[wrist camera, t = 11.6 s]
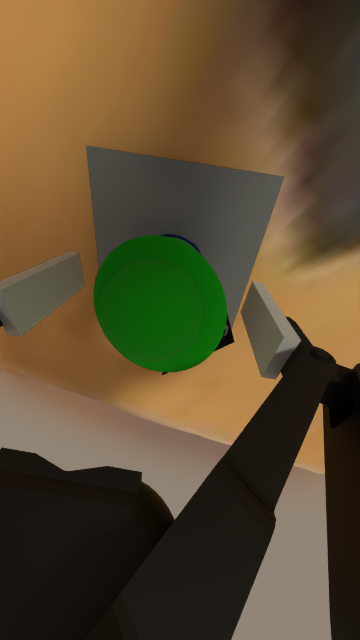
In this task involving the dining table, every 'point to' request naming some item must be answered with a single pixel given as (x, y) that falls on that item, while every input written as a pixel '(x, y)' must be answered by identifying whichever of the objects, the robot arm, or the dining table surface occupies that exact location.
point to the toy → (161, 303)
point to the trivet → (184, 209)
